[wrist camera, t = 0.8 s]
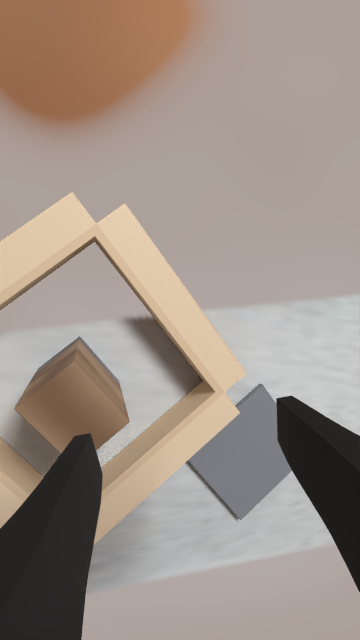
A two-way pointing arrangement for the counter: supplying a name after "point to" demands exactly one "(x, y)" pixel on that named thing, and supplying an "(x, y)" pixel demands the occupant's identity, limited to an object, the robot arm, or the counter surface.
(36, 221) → the wooden square frame
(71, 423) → the walnut block
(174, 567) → the counter surface
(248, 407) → the slate mat
